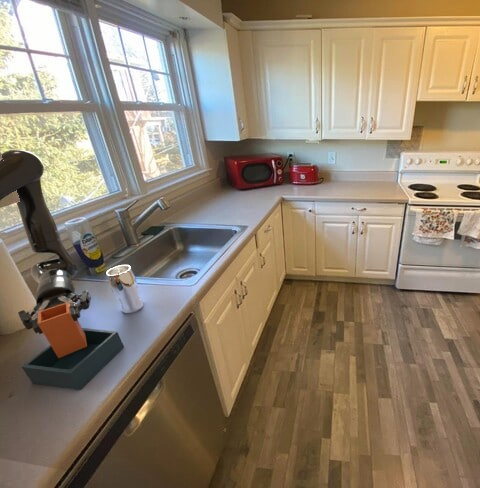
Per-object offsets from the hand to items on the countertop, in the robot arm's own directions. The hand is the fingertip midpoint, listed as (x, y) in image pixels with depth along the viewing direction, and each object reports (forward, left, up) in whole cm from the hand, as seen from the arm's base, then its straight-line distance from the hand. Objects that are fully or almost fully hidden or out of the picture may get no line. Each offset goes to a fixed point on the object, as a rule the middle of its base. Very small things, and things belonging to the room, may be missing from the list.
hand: (57, 323), depth 66 cm
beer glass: (-6, +25, -15) cm, 30 cm away
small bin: (-2, +2, -9) cm, 9 cm away
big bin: (-2, +2, -15) cm, 15 cm away
